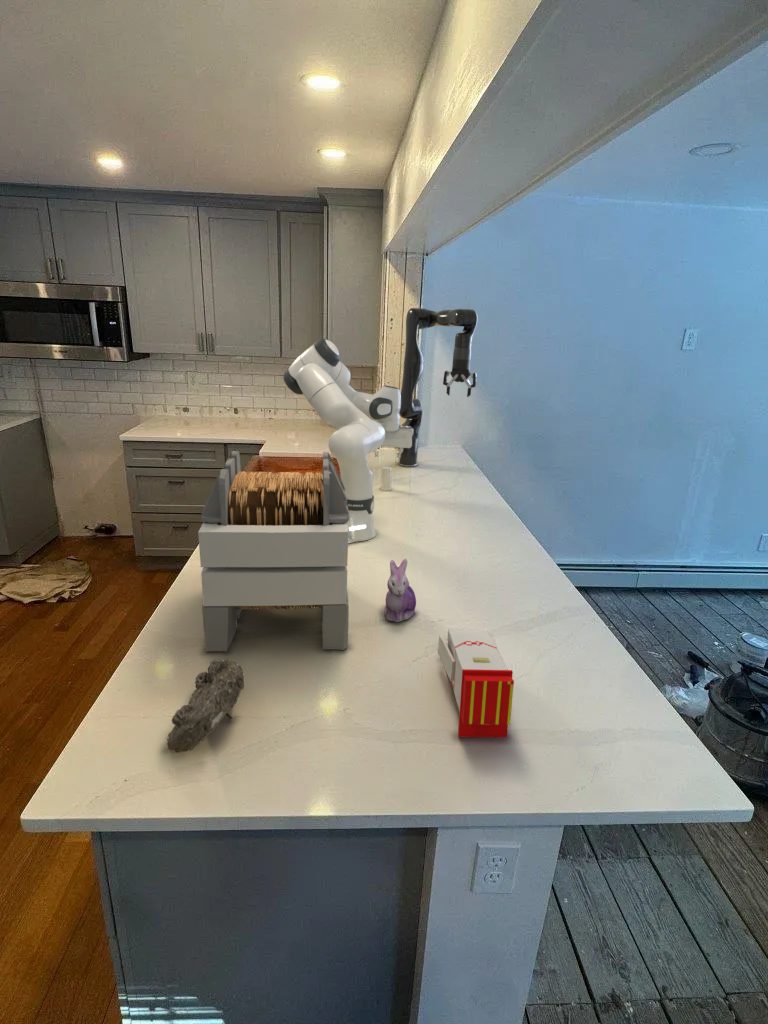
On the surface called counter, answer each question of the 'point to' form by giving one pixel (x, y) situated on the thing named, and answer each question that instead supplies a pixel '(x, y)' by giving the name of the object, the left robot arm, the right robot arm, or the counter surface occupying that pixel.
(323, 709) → the counter surface
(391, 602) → the figurine
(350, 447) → the left robot arm
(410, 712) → the counter surface
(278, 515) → the grey record crate
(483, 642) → the toy
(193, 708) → the fossil
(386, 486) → the canister
